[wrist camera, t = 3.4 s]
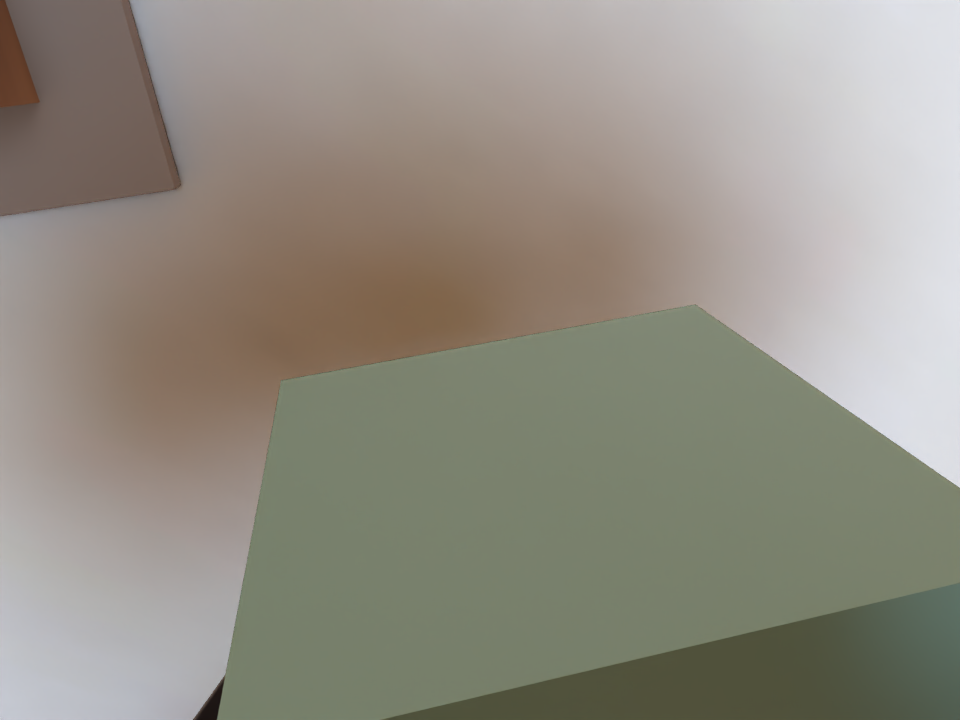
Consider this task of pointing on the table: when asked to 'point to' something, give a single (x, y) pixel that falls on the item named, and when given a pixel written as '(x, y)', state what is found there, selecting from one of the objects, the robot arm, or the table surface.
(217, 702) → the robot arm
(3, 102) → the walnut block
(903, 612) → the green cube
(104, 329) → the table surface
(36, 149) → the mat
